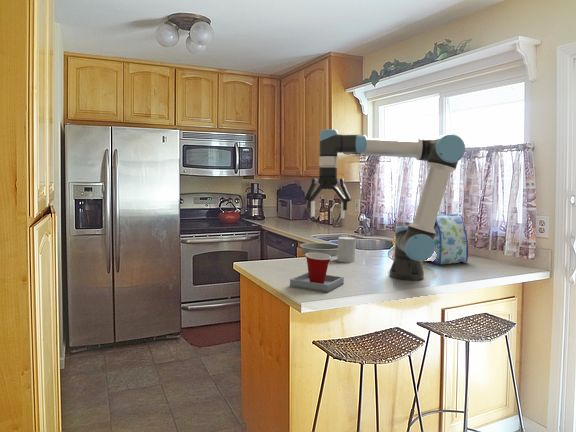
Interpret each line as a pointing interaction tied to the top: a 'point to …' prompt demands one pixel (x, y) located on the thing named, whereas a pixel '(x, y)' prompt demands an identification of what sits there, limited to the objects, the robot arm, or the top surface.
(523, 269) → the top surface
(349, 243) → the white cylinder
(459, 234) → the lunch bag
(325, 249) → the cake pan
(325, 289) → the tray
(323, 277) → the plastic cup
